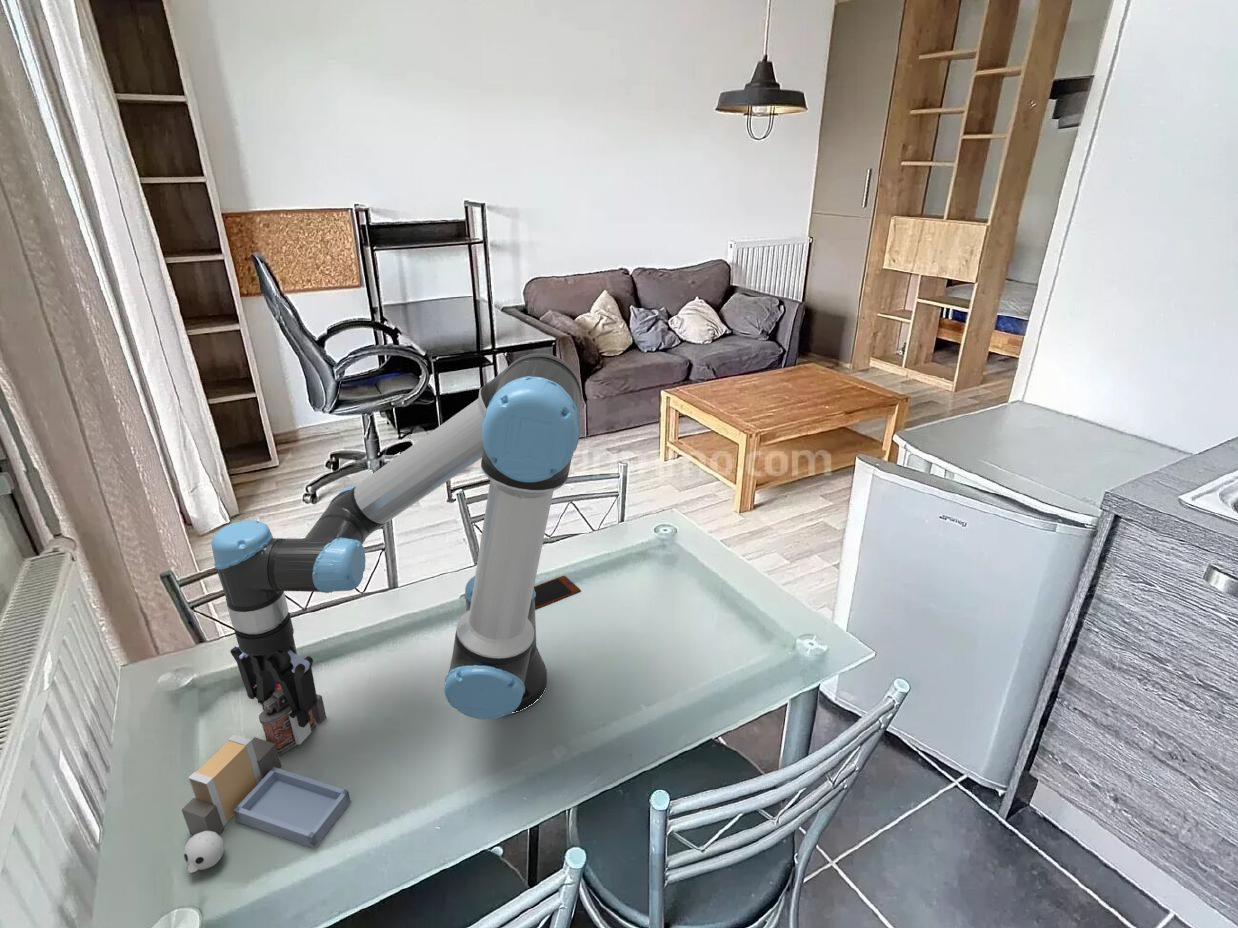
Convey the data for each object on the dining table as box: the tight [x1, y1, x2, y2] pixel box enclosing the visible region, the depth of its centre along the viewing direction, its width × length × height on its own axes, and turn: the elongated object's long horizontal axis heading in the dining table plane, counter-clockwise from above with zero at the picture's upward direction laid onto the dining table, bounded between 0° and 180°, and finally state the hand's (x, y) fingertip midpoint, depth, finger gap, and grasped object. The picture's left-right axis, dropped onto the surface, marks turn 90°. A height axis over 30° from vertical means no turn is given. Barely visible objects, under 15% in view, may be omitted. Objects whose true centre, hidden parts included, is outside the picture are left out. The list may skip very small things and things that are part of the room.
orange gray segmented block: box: [181, 693, 327, 836], centre depth 104 cm, size 4×24×9 cm, turn 163°
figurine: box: [183, 831, 225, 874], centre depth 92 cm, size 5×5×5 cm
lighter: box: [258, 690, 317, 756], centre depth 109 cm, size 8×3×10 cm, turn 148°
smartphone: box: [534, 575, 582, 611], centre depth 149 cm, size 7×1×15 cm
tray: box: [234, 767, 351, 849], centre depth 100 cm, size 13×8×2 cm, turn 73°
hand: (291, 733), depth 111 cm, fingers closed on lighter, 4 cm apart
